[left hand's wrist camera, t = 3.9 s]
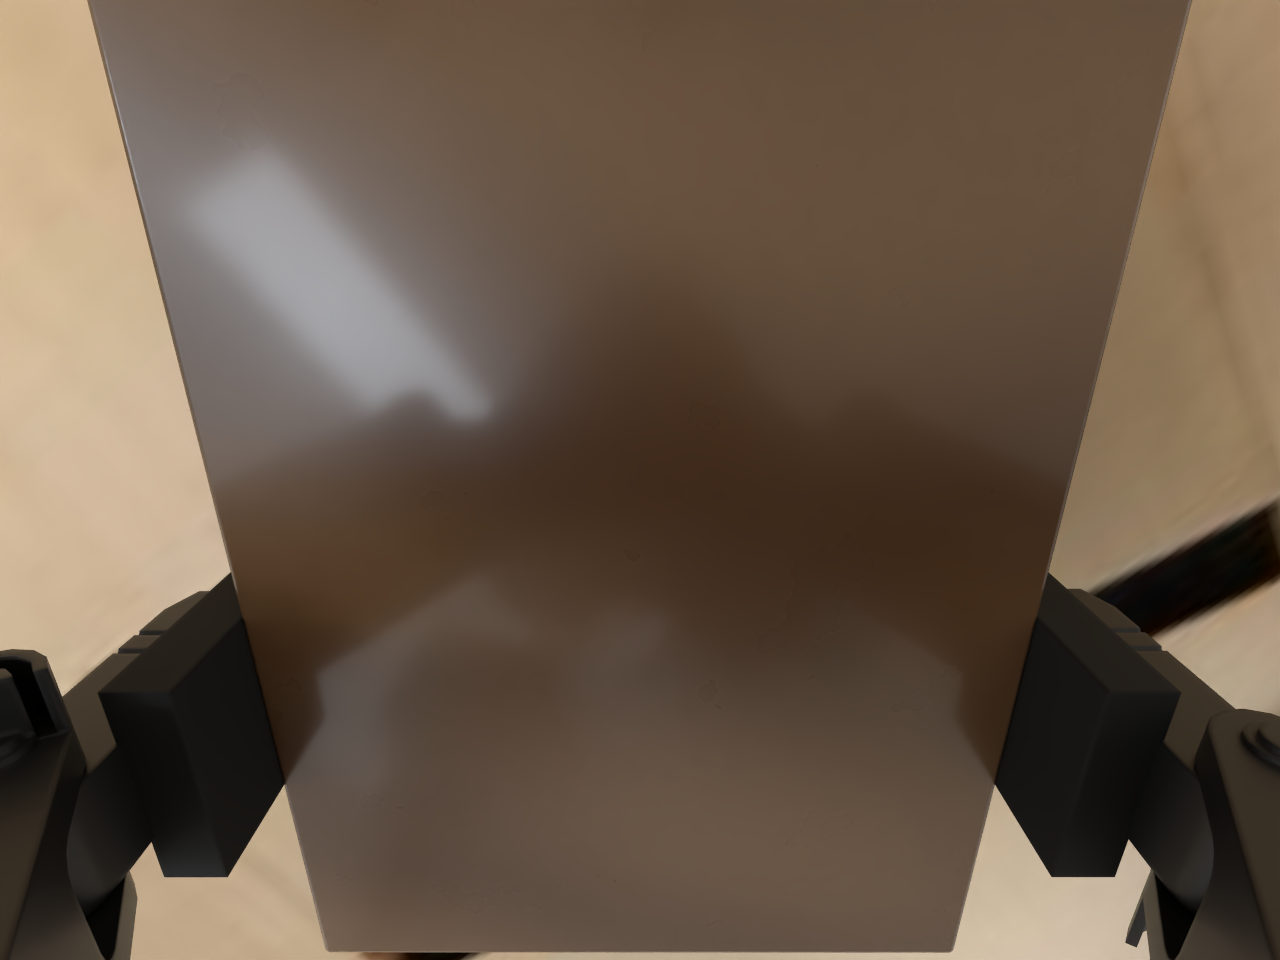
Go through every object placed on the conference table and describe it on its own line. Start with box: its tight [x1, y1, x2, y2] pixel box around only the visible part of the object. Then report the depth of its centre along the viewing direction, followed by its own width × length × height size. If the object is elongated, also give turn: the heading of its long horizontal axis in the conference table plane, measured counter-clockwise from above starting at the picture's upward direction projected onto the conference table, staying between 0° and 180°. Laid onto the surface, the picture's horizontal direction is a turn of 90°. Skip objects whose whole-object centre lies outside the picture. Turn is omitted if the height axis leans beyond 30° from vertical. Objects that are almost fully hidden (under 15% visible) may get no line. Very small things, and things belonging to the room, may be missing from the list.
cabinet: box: [87, 0, 1192, 953], centre depth 12 cm, size 18×10×9 cm, turn 0°
